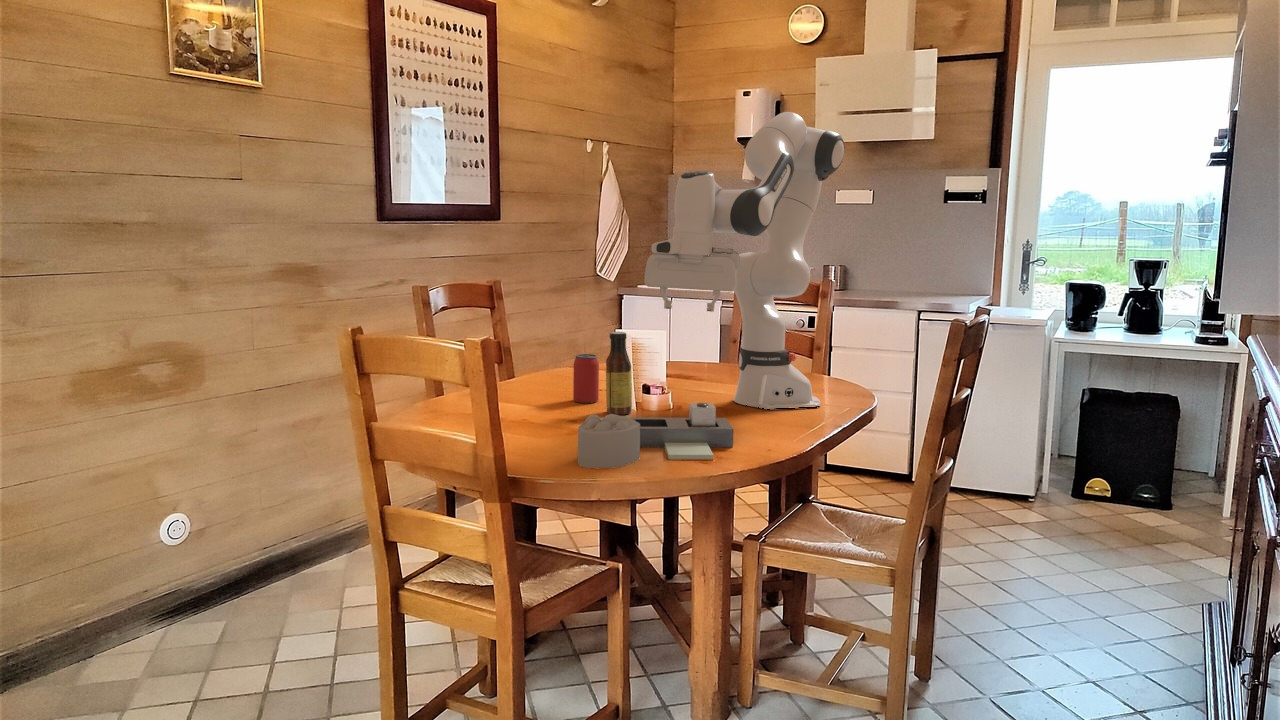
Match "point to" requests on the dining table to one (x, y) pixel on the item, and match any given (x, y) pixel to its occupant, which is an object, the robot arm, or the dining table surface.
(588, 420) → the lumpy-topped squat cylinder
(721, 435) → the rail
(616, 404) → the sauce bottle
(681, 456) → the pad
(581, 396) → the beer can
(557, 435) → the dining table surface
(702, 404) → the grey square post
